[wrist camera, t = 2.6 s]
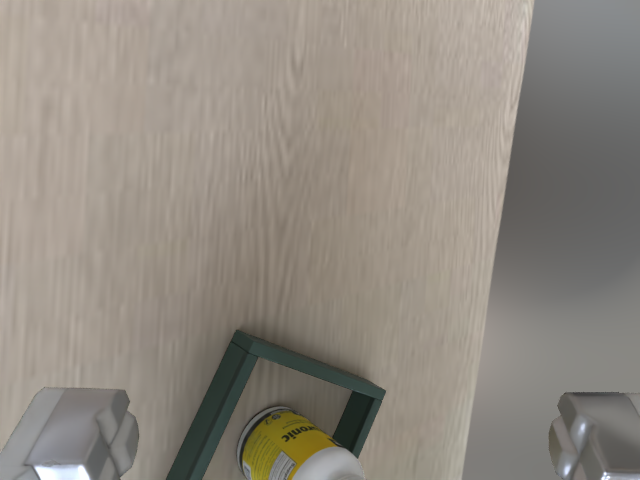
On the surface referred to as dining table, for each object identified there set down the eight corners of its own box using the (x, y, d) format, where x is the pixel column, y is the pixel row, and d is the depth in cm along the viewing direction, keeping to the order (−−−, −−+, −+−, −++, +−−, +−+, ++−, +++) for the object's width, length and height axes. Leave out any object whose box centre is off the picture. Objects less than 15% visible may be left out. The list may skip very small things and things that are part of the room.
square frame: (235, 329, 34) (253, 340, 32) (366, 379, 41) (387, 390, 39) (146, 519, 32) (159, 544, 30) (298, 536, 40) (316, 557, 38)
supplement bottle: (312, 409, 39) (408, 479, 31) (285, 481, 38) (374, 570, 30) (252, 397, 35) (341, 471, 28) (221, 475, 35) (303, 573, 27)
